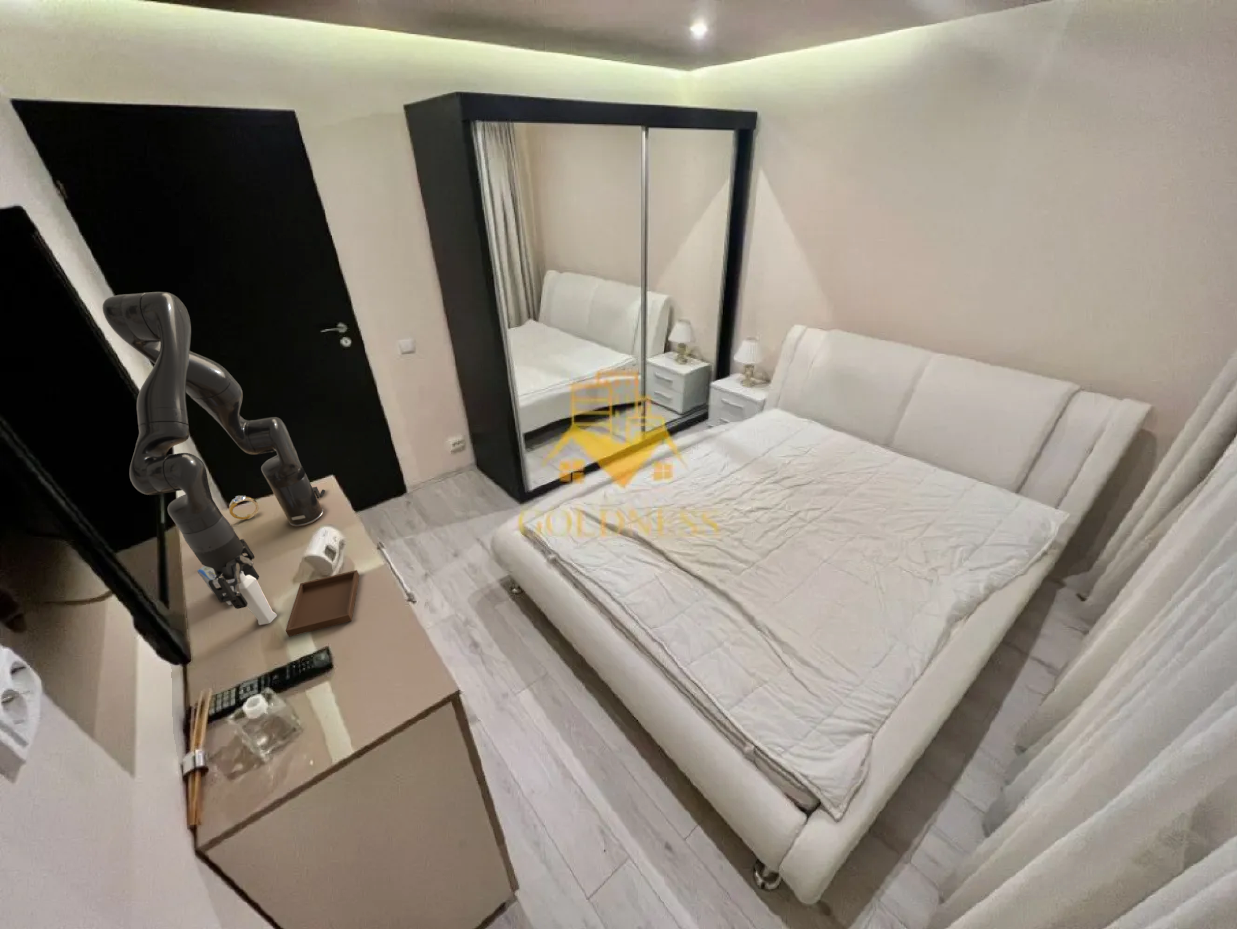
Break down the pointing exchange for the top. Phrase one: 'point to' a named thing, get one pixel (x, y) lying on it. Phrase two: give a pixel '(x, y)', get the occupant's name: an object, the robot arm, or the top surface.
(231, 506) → the ring
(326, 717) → the top surface
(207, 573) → the medicine box
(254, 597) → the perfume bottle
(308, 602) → the tray
